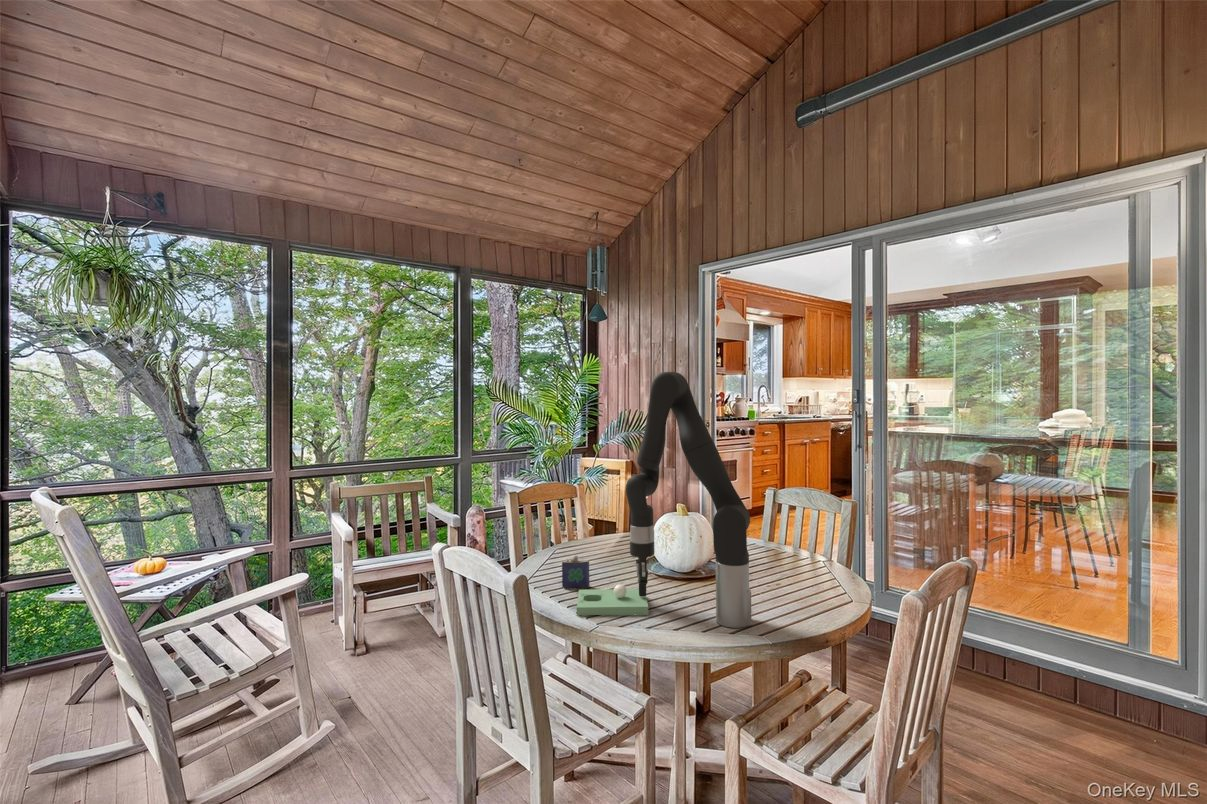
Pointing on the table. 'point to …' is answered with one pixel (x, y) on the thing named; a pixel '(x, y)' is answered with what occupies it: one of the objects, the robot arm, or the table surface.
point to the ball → (620, 591)
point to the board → (611, 603)
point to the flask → (575, 573)
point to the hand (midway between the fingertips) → (642, 595)
